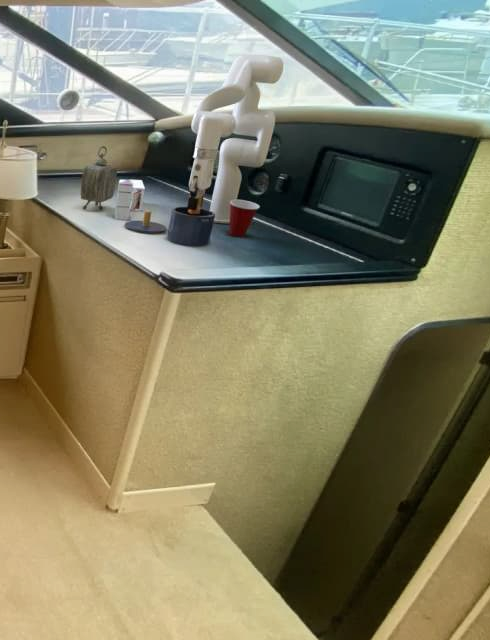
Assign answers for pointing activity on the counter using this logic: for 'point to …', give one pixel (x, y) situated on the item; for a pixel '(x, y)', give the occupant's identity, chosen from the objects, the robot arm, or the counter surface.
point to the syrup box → (124, 199)
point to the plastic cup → (241, 216)
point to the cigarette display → (137, 195)
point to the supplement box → (198, 203)
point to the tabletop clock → (98, 181)
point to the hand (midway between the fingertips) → (194, 207)
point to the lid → (145, 224)
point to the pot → (190, 227)
